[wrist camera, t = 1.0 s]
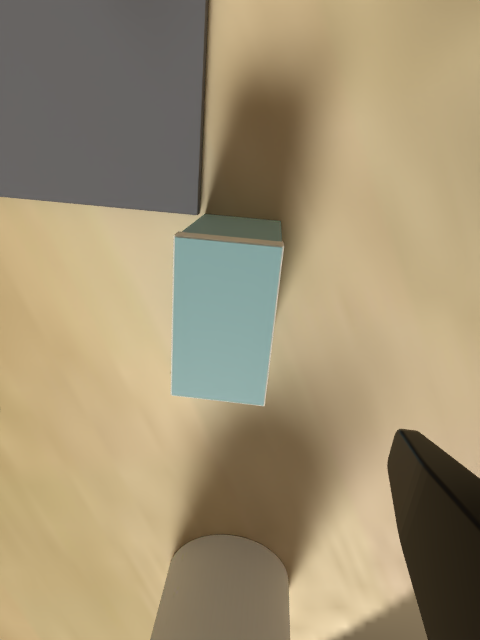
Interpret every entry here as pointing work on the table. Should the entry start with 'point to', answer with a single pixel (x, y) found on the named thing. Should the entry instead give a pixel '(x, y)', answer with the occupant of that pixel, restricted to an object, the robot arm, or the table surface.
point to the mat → (103, 102)
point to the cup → (224, 592)
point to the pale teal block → (224, 307)
